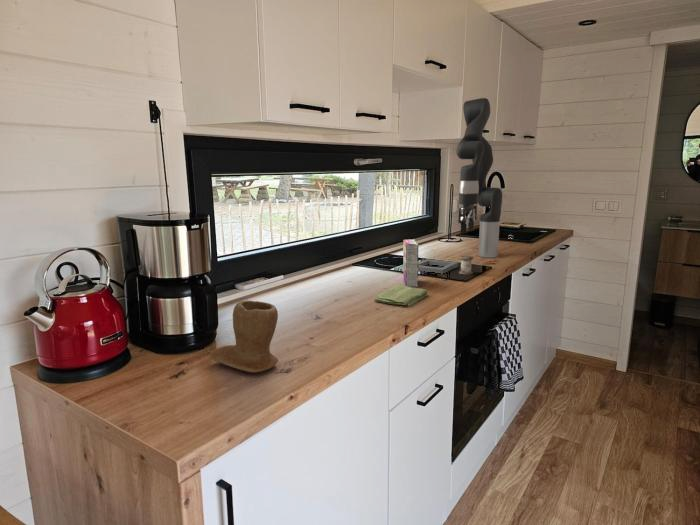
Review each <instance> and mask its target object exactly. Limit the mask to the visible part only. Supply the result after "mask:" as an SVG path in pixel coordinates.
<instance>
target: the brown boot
mask: <svg viewBox="0 0 700 525" xmlns="http://www.w3.org/2000/svg"><path fill="white" fill-rule="evenodd" d="M278 312H279V311H278V309H277V307H276V306H275V305H274V304H272V303H270V302H263V301H260V300H259V301H257V300H255V301H254V300H241V301H238V302H237V303H236V304H235V306H234V307H233V311H232V328H233V333H234V338H235V344H228V345H223V346H220V347H218V348H216V349H214V350H213V351H212V352H211V353H210V354H209V356H208V358H209V359H210V360H212V361H214V362H217V363H220V364H222V365H225V366H228V367H230V368H234V369H236V370H239V371H243V372H247V373H252V374H253V373H262V372H265V371H267V370H269V369H271V368H273V367H275V366H276V365H277V363H278V362H279V359H278V358H277V357H276V356H275V355H273V354H272V353H271V350H270V347H271V342H272V340H273V337H274V334H275V332H276V328H277V323H278V318H279V313H278Z"/></svg>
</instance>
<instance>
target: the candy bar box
mask: <svg viewBox="0 0 700 525" xmlns="http://www.w3.org/2000/svg"><path fill="white" fill-rule="evenodd" d="M402 248H403V250H402V251H403V253H402V254H403V256H402V257H403V259H402V260H403V267H402V268H403V270H402V272H403V281H404V284H405V285H404V286H408V287H412V288H414V287H415V288H418V287H419V271H418V263H419V243H418V241H417V240H416V239H414V238H413V239H410V238H409V239H403V247H402Z"/></svg>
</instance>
